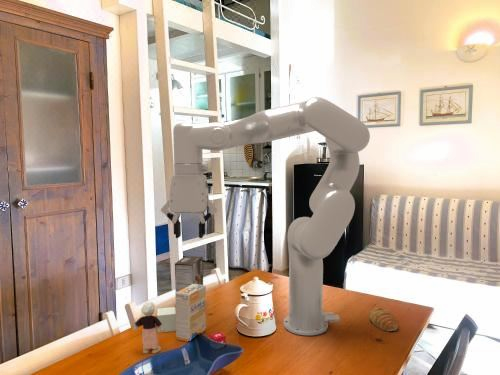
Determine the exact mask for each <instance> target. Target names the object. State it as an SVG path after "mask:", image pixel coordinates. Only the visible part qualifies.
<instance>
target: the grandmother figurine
mask: <svg viewBox="0 0 500 375" xmlns="http://www.w3.org/2000/svg"><path fill="white" fill-rule="evenodd" d="M140 312H141V313H142V314H144V316H141V317H139V318H138V319H137V320H136V321H135V323H134V327H133V331H134V332H137V331H138V329H139V327H142V330H141V331H142V332H141V334H142V337H141V338H142V340H141V341H142V348H143V350H142V353H143V354H149V353H150V352H151V353H152V354H157V353H159V352H160V351H161V350H162V348H161V345H159V339H158V328H159V329H160V332H159V333H165V332H164V329H163V326H162V323H161V322H160V320H159V319H158V318H157V316H154V313H155V303H154V302H153V301H146V302H145V303H144V304H143V305H142V307H141V310H140Z"/></svg>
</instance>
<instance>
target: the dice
mask: <svg viewBox="0 0 500 375" xmlns="http://www.w3.org/2000/svg"><path fill="white" fill-rule="evenodd" d="M226 337H227V336H226V334H224V333H222V332H221V331H216V332H214V333H211V334H209V340H210V339H212V340H214V341H217V342H221V343H226V342H227V340H226V339H227V338H226ZM226 344H227V343H226Z"/></svg>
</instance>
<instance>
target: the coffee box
mask: <svg viewBox="0 0 500 375" xmlns="http://www.w3.org/2000/svg"><path fill="white" fill-rule="evenodd" d="M203 263H204V262H203V256H193V255H189V256H188V255H185V256H183V257H182V258H180V259H179V260H178V261H177V262H175V263H174V283H175V285H174V287H175V293H176V292H178V291H180V290H181V289H183V288H185V287H187V286H189V285H191V284H198V285H204V265H203Z"/></svg>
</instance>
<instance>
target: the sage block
mask: <svg viewBox="0 0 500 375" xmlns="http://www.w3.org/2000/svg"><path fill="white" fill-rule="evenodd" d="M156 314H157V316H156V317H157V318H158V319H159V320H160V322H161V323H162V326H163V329H164V332H163V333H167V332H176V306H172V307H171V306H170V307H160V308H157V313H156ZM159 333H161V332H160V329H159V328H158V327H157V334H159Z"/></svg>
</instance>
